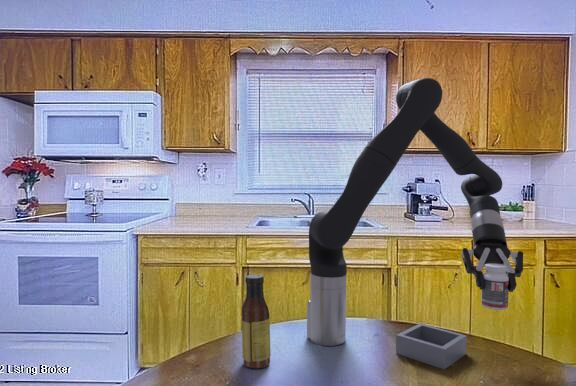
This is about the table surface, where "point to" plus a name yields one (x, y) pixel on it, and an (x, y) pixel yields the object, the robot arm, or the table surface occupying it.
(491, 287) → the pill bottle
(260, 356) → the sauce bottle
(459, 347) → the bin
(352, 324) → the table surface
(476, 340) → the table surface
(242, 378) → the table surface
